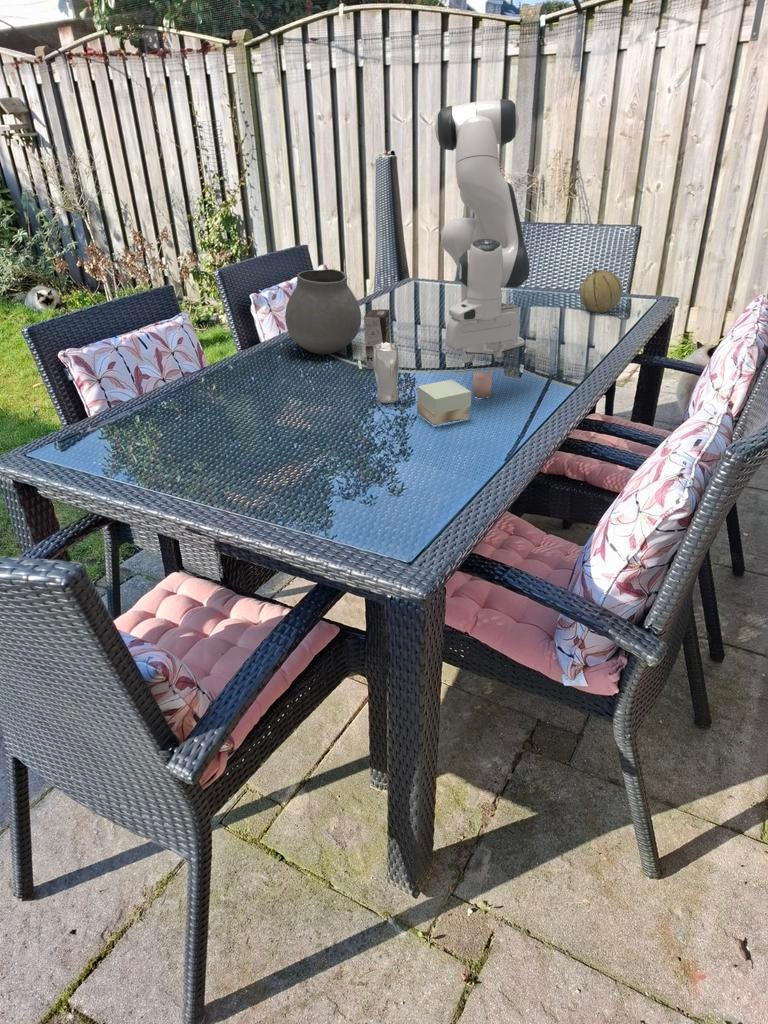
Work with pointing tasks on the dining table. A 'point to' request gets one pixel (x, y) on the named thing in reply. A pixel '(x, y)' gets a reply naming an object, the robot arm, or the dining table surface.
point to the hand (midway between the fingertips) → (481, 359)
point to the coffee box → (375, 332)
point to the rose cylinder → (482, 384)
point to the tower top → (444, 396)
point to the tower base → (442, 415)
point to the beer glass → (386, 371)
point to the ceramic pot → (322, 311)
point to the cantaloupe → (601, 291)
